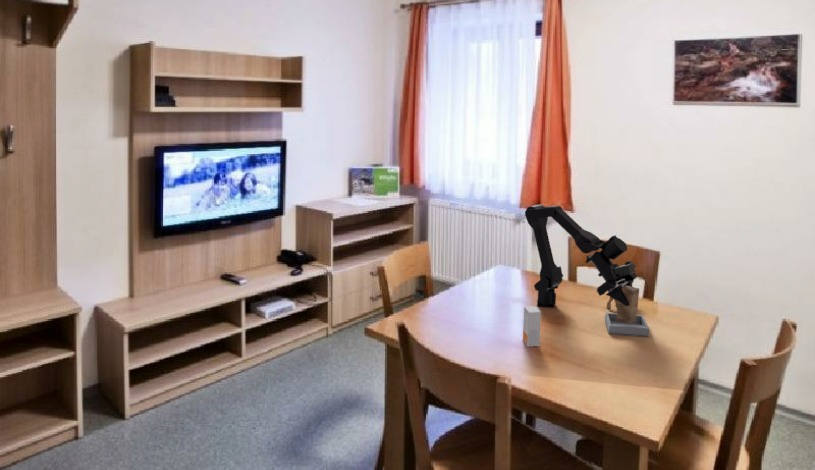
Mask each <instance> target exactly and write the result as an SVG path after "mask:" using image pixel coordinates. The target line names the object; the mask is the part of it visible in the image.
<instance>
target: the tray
mask: <svg viewBox="0 0 815 470" xmlns="http://www.w3.org/2000/svg"><path fill="white" fill-rule="evenodd" d="M604 315H605V316H604V323H605V326H606V330H607V333H608V335H619V336H632V337H645V338H650V337H649V333H650V327H649V325H648V322H647V321H646V319H645V317H644V315H643V314H641V315H640V314H637V317H636V322H634V323H632V324H627V323H624V322H620V321H617V312H616V313H613V312H605V313H604Z"/></svg>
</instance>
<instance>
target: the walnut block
mask: <svg viewBox="0 0 815 470" xmlns="http://www.w3.org/2000/svg"><path fill="white" fill-rule="evenodd" d="M622 292H623V294H624V295H625V297H626V299H627V301H628V302H629V305H628V306H626V305H624V304H622V303H621V302H619V301H618V309H617V311H616V313H617V321H620V322H624V323H627V324H632V323H634V322H636V317H637V315H638V306H639V295H640V288H638V287H635V286H633V287H631V286H627V285H625V286H623V287H622Z"/></svg>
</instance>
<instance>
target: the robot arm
mask: <svg viewBox="0 0 815 470" xmlns="http://www.w3.org/2000/svg"><path fill="white" fill-rule="evenodd" d="M524 214H525V218H526V219H525V220H526V221H527V223H528V225H529V226H530V227H531V229H532V231H533V233H534V234H533V235H534V239H535V243H536V247H537V252H538V257H539V259H540V261H539V262H540V264H541V265H540V266H541V267H540V272H539V281H537V282H535V284H534V285H533V287H534V290H535V291H537V300H536V307H545V308H555V305H556V304H557V303H556V300H557V293H556V291H555V289H558V288H559V286H560V285H561V284H562V282H563V277H564V274H563V272H562V271H563V269H562V267H561V266H558V265H556V262H555V261H554V255H553V252H552V248H551V247H552V246H551V244H550V238H549V234H548V230H547V223H548V221H549V218H552V219H553V220H554V221H555V223H557V224H558V225H559V226H560V227H561V228H562V229H563V230H565V232H567V234H569V235H570V236H571V237H572V239H573V241H574V244H575V245H576V247H577V248H578V249H579V250H580V252H581V253H583V254H589V253H593V254H589V255H586V260H585V264H589V263H592V264H593V266H594V267H595V268H596V269H597V271H598V275H597V276H598V277H600V278H602V279H603V280H604V281H605V282H603V283H602V284H601V285H599V286H598V287H597V288H596V292H597V294H598V295H599V296H603V295H606V296H607V297H609V298H610V297H612V298H614V299H615V300H617V301H619V302H621V303H622V304H624V305H626V306H628V305H629V302H628V301H627V299H626V297H625V295H624V294H623V292H622V287H623V286H625V285H627V286H631V287H632V286H633V283H634V281H635V280H636V279H637V278H638V275H637V273H636V267H637V266H636V264H635V263H634V262H633V261H632V260H628V261H625V262H624V264H623V265H620V266H619V264H618V263H613V260H616V259H618V258H619V257H620V256H622V255H623V254H624V253H625V252H627V251H628V245H627V244H626V242H625V241H623V240H622V238H619V237H617V235H616V234H615V235H612V236H611V237H610V238H608V240H607V241H605V240H602V239H600V237H598V236H596V234H595V233H593V232H591V231H588V230H586V229H584V228H583V227H582V226H580V225H579V224H578V223H577V221H575V219H573V218H572V217H571V216H570V215H569V214H568V213H566V211H565V210H563V208H562V206H561V205H559V204H558V205H549V206H545V205H543V204H536V205H531V206H528V207H526V210H525V211H524ZM606 292H607V293H606ZM614 299H613V300H614ZM615 300H614V301H615Z"/></svg>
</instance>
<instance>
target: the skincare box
mask: <svg viewBox="0 0 815 470" xmlns="http://www.w3.org/2000/svg"><path fill="white" fill-rule="evenodd" d="M523 307H524V308H523V324H522V325H523V326H522V341H523V342H524V344H525V345H526V347H529V348H530V346H531V347H533V346H537V347H540V342H541V324H542V323H541V321H542V311H541V310H540V308H539V307H538V306H537V305H533V306H532V305H529V306H528V305H524V306H523Z"/></svg>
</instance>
